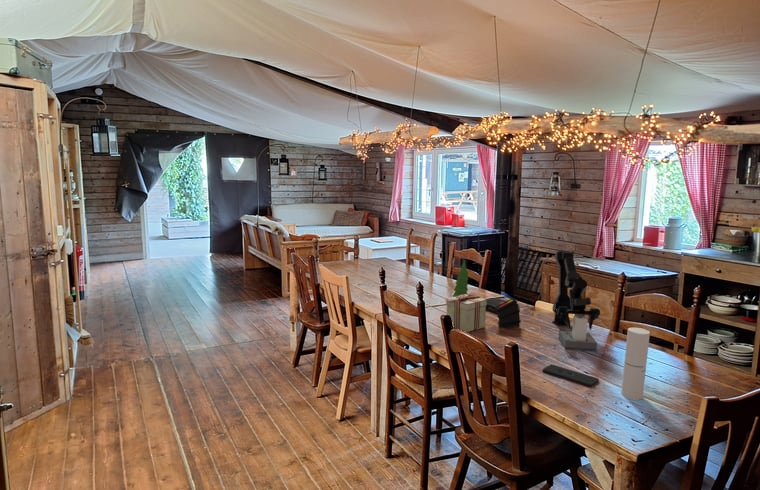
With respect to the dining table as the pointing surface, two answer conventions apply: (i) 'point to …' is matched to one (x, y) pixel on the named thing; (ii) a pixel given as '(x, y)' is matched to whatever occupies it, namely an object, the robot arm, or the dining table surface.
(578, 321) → the white upright cylinder
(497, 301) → the portable cd player
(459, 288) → the decorative tree
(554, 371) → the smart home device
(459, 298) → the gift box
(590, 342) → the block
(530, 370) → the dining table surface
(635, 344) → the cylindrical container
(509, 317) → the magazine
